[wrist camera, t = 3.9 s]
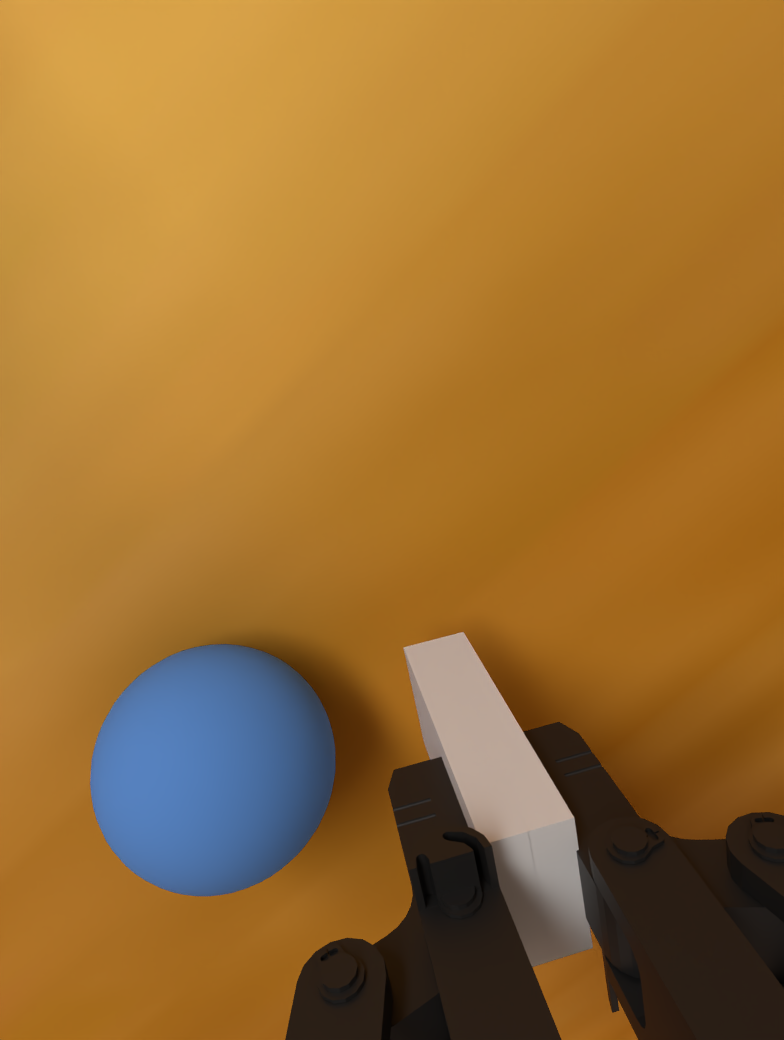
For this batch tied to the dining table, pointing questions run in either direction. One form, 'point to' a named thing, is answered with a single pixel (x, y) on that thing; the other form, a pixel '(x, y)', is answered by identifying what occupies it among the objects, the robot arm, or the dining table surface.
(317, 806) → the ball
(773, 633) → the dining table surface
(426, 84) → the dining table surface
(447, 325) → the dining table surface
